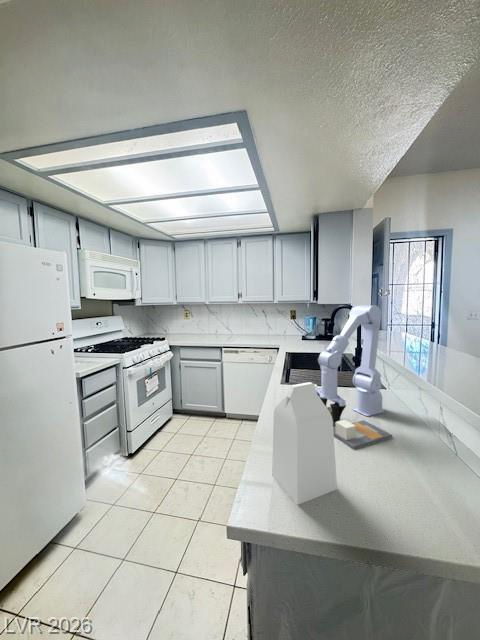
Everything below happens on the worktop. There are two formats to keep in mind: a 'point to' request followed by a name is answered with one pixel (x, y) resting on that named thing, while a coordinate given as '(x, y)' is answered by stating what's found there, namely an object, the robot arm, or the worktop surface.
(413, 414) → the worktop surface
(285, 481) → the milk
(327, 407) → the block
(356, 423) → the breaker panel
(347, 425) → the cream white cube
